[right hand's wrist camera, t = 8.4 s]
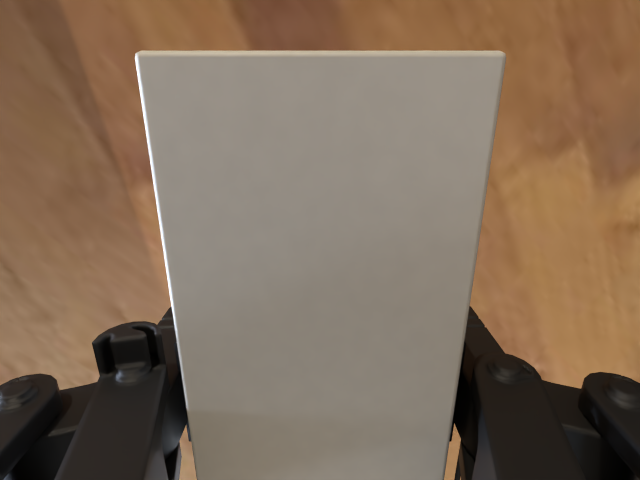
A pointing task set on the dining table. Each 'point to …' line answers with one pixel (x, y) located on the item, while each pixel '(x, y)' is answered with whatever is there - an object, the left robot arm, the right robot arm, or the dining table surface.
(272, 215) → the post
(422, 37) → the dining table surface
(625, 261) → the dining table surface
